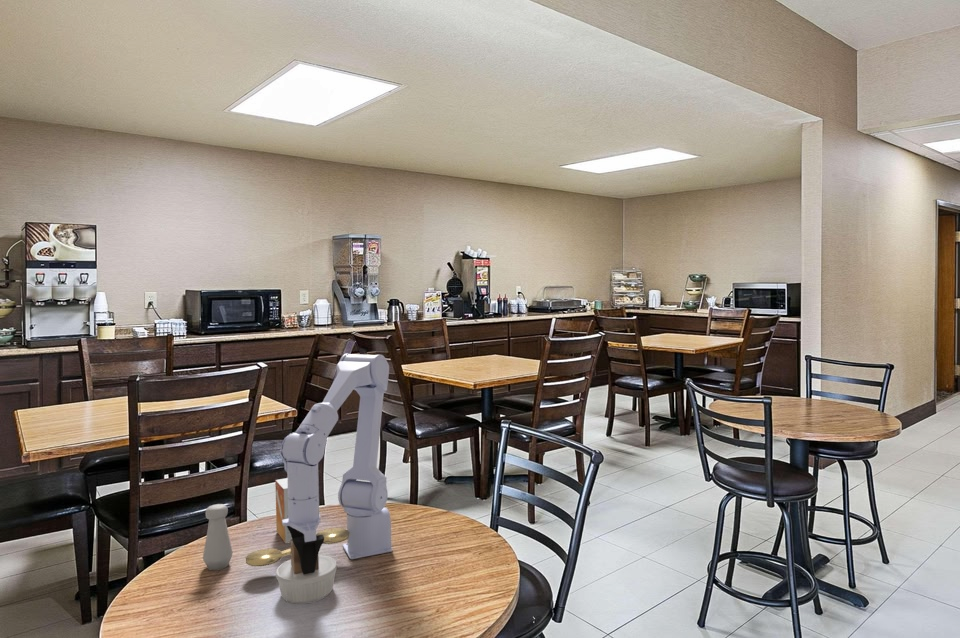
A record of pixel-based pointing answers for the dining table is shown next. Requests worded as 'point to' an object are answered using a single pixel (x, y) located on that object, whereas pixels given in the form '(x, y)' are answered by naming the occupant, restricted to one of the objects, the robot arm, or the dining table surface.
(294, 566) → the block
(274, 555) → the balance
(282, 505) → the small box
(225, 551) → the salt shaker
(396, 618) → the dining table surface
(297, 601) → the ramekin
